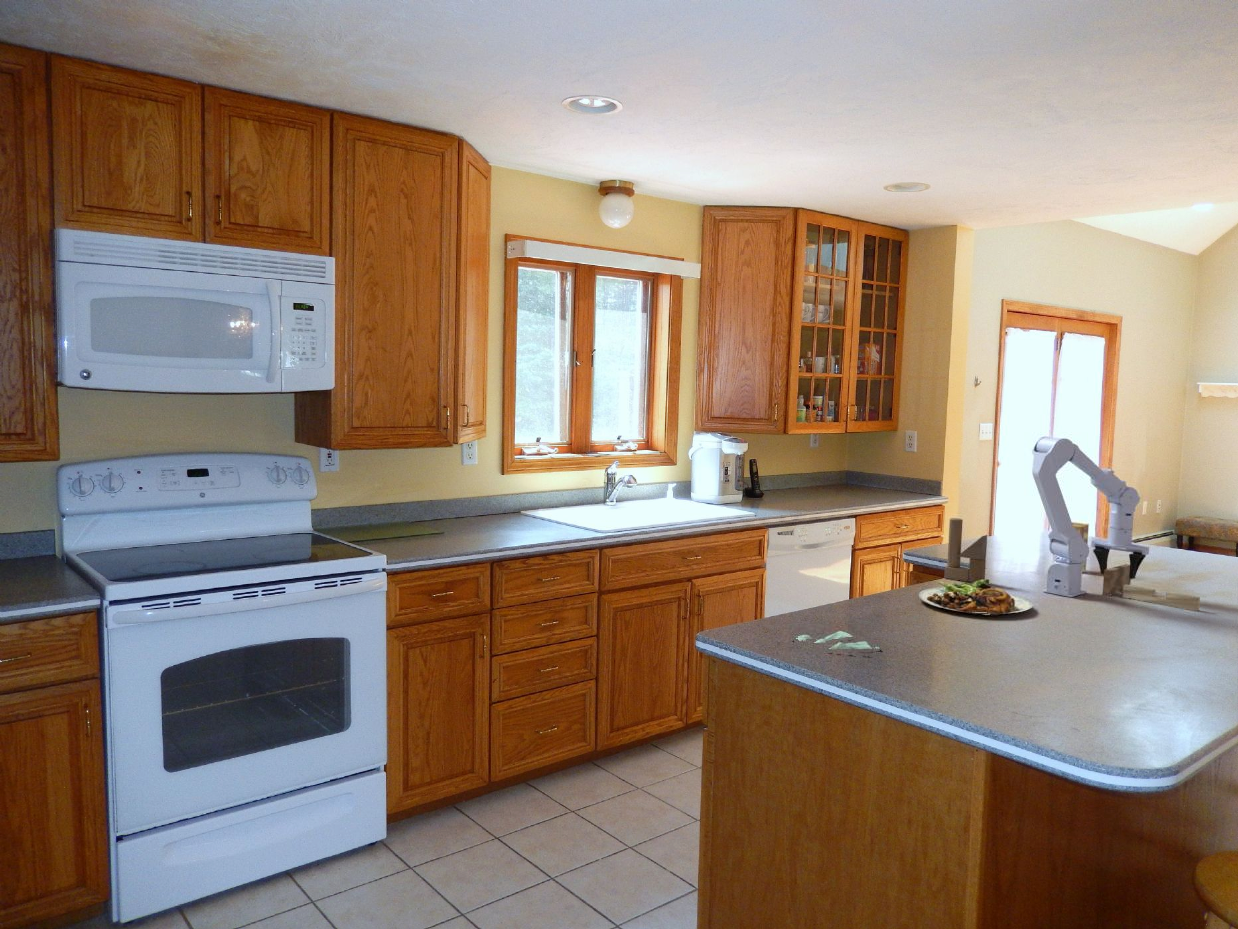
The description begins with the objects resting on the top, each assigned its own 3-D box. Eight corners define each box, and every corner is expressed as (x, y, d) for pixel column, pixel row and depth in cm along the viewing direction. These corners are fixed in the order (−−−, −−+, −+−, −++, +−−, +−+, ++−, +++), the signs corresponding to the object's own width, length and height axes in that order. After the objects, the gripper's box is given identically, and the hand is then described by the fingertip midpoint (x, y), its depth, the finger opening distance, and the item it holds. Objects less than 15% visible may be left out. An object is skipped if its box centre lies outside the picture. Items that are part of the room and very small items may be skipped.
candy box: (1086, 571, 278) (1089, 523, 276) (1081, 573, 275) (1084, 524, 274) (1056, 567, 284) (1059, 520, 283) (1051, 569, 281) (1054, 521, 280)
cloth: (776, 639, 199) (776, 629, 199) (858, 632, 207) (858, 621, 207) (828, 667, 180) (828, 656, 180) (916, 657, 188) (916, 646, 188)
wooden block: (980, 584, 257) (983, 523, 255) (943, 578, 264) (947, 518, 263) (985, 582, 260) (988, 521, 258) (949, 576, 267) (952, 517, 265)
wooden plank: (1108, 595, 246) (1110, 570, 245) (1102, 594, 247) (1104, 569, 246) (1130, 589, 254) (1131, 565, 254) (1124, 588, 256) (1125, 564, 255)
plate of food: (957, 589, 251) (958, 568, 251) (1054, 609, 229) (1055, 586, 228) (896, 605, 235) (896, 583, 234) (993, 629, 213) (994, 604, 212)
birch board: (1196, 611, 230) (1197, 598, 230) (1122, 597, 244) (1123, 584, 244) (1198, 610, 231) (1199, 597, 231) (1125, 596, 245) (1126, 584, 245)
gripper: (1154, 530, 246) (1151, 578, 247) (1100, 523, 257) (1097, 569, 258) (1144, 532, 241) (1140, 582, 243) (1089, 525, 253) (1086, 572, 254)
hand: (1117, 576), depth 250 cm, fingers open, 7 cm apart
